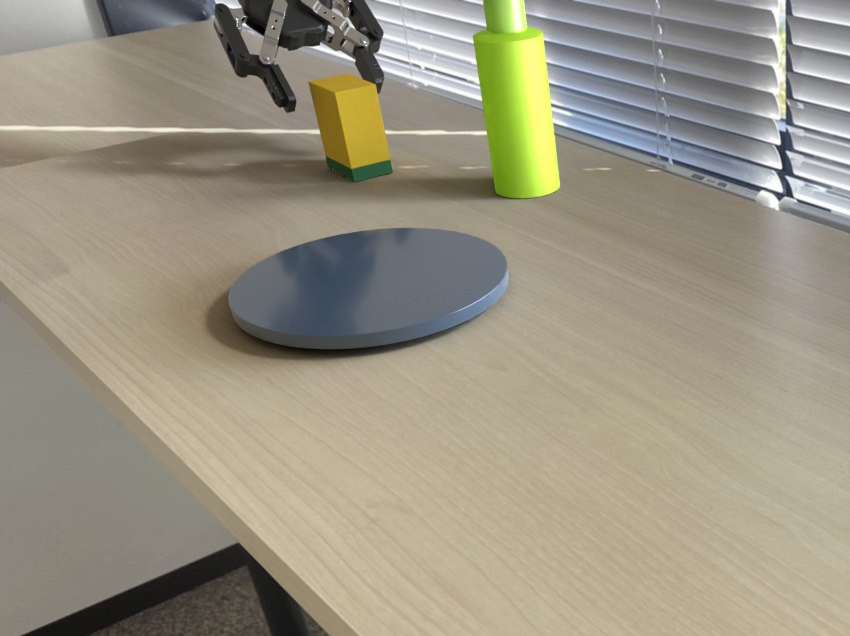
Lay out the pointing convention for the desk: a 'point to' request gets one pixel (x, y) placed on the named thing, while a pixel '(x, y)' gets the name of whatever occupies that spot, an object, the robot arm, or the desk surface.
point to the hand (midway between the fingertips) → (336, 98)
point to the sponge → (351, 126)
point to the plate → (369, 288)
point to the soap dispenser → (516, 102)
